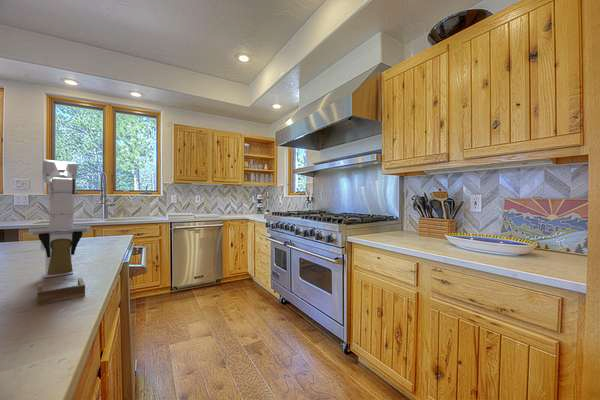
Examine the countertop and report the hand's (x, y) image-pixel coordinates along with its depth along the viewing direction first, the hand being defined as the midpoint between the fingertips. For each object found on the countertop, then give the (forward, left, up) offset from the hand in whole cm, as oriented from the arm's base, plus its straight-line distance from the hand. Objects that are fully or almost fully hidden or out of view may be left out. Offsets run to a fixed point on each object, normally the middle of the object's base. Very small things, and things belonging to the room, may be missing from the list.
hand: (60, 255), depth 82 cm
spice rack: (+9, 0, -10) cm, 14 cm away
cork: (0, 0, -6) cm, 6 cm away
